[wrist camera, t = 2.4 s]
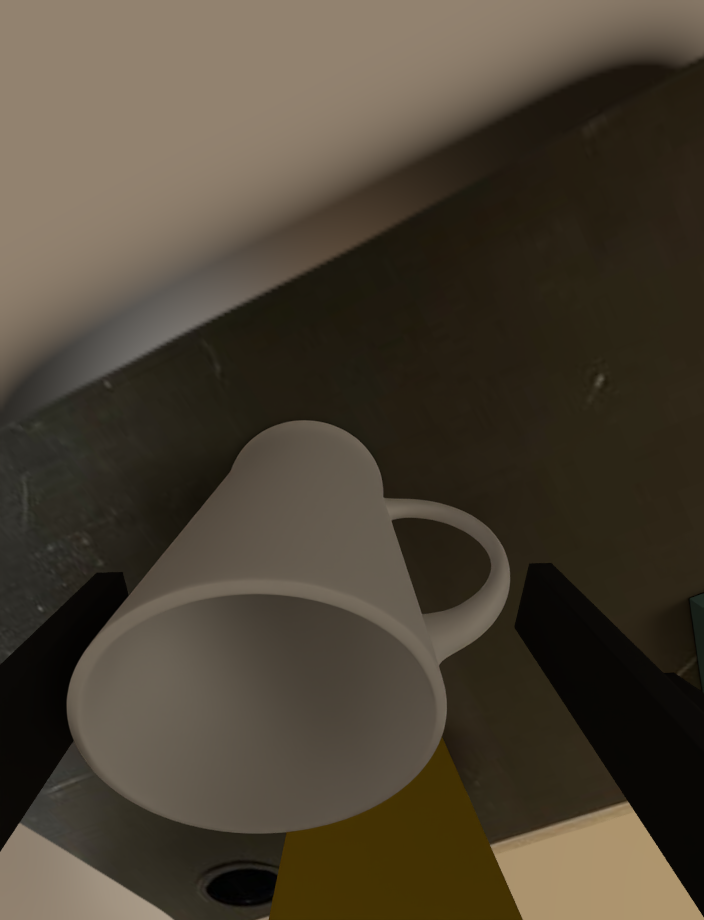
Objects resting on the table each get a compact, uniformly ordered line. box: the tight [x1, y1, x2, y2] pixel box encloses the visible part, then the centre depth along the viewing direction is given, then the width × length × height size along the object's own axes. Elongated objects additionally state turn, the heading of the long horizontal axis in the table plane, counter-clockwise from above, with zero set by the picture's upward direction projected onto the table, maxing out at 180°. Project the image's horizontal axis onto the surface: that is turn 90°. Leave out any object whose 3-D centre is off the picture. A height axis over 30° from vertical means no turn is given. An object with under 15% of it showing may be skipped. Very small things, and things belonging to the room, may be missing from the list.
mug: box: [67, 420, 510, 833], centre depth 13 cm, size 12×8×12 cm
